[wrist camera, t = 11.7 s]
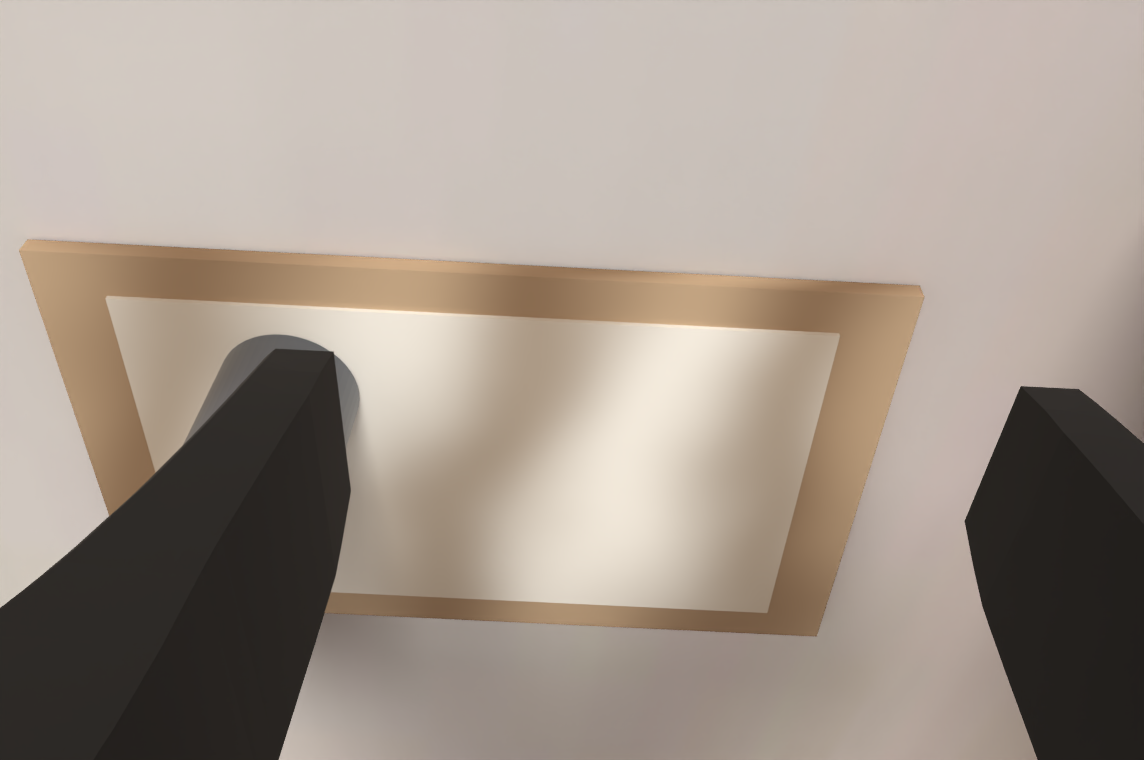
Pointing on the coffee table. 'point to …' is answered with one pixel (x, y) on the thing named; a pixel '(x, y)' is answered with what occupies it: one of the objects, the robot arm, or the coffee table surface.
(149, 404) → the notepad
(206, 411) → the marker
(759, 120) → the coffee table surface
